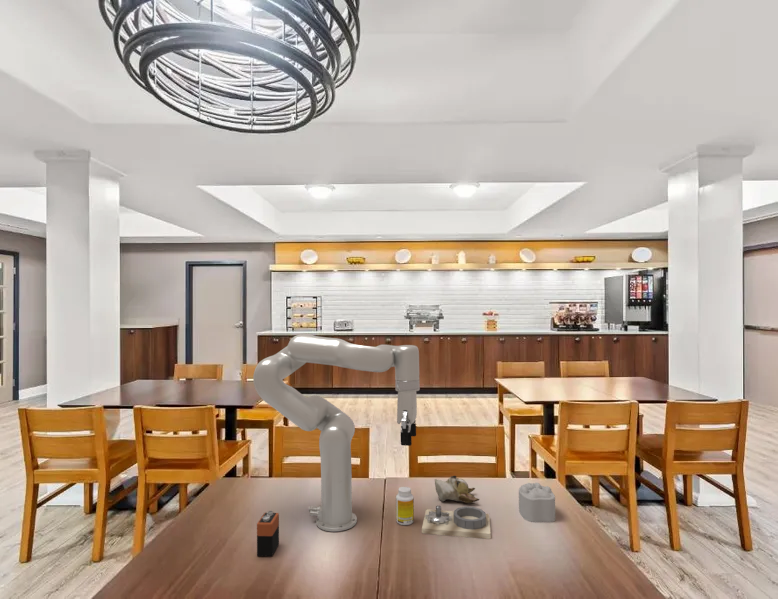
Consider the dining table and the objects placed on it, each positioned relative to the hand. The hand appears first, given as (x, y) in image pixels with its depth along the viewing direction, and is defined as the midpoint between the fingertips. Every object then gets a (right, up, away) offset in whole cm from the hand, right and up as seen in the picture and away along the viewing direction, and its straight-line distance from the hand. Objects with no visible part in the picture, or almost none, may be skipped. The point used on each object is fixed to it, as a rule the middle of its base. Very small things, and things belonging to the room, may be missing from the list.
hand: (408, 440), depth 144 cm
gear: (+9, -24, 0) cm, 26 cm away
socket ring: (+19, -24, -2) cm, 31 cm away
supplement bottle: (-1, -26, +1) cm, 26 cm away
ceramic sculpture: (+17, -26, +17) cm, 36 cm away
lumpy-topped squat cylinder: (+42, -26, +7) cm, 49 cm away
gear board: (+15, -26, -1) cm, 30 cm away
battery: (-40, -26, -15) cm, 50 cm away
